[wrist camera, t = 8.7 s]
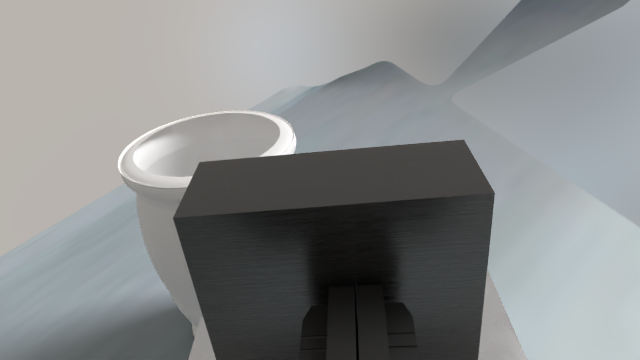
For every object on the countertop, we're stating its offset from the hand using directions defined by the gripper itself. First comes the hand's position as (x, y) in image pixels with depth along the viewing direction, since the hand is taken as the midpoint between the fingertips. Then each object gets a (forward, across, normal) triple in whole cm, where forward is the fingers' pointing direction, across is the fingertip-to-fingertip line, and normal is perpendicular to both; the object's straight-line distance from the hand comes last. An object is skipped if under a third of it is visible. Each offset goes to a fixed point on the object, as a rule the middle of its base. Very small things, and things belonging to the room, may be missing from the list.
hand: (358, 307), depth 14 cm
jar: (+16, -9, -17) cm, 25 cm away
